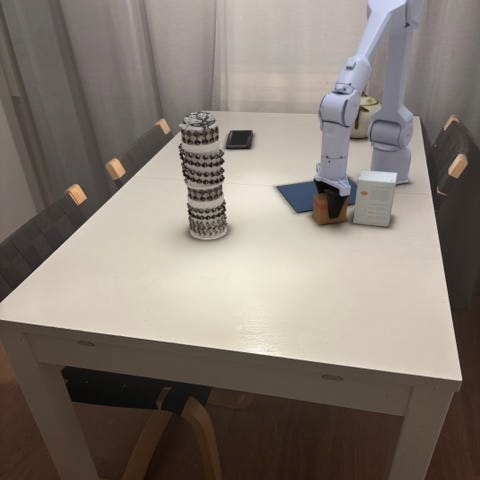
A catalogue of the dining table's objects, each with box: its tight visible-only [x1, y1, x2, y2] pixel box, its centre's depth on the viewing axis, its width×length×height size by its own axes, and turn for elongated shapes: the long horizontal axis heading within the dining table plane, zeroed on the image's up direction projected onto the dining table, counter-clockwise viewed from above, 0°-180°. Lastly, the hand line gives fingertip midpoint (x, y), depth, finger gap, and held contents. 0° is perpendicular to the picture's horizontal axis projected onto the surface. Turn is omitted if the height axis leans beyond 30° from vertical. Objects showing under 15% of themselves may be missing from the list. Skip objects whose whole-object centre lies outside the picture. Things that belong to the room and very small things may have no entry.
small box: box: [352, 169, 397, 228], centre depth 105 cm, size 8×6×10 cm
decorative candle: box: [177, 111, 228, 241], centre depth 100 cm, size 9×9×25 cm
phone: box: [225, 129, 254, 150], centre depth 154 cm, size 8×1×15 cm
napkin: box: [276, 176, 357, 214], centre depth 120 cm, size 20×16×1 cm
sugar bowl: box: [350, 90, 382, 139], centre depth 151 cm, size 20×15×15 cm
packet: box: [311, 193, 349, 226], centre depth 108 cm, size 7×5×6 cm
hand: (329, 212), depth 109 cm, fingers closed on packet, 4 cm apart
